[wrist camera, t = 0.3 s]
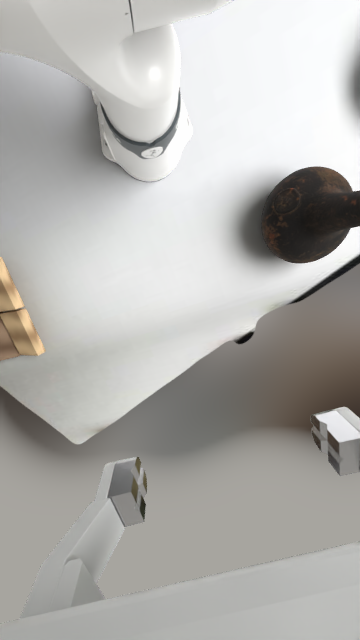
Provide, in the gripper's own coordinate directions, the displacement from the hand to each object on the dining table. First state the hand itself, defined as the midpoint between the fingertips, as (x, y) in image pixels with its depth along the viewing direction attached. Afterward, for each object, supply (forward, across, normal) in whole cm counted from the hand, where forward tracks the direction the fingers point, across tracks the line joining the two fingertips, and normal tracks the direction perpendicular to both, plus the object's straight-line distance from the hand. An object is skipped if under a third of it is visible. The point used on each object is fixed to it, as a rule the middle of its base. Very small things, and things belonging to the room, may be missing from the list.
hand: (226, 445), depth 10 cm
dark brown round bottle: (+47, -29, -8) cm, 56 cm away
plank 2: (+45, +38, +1) cm, 59 cm away
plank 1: (+45, +38, -10) cm, 60 cm away
